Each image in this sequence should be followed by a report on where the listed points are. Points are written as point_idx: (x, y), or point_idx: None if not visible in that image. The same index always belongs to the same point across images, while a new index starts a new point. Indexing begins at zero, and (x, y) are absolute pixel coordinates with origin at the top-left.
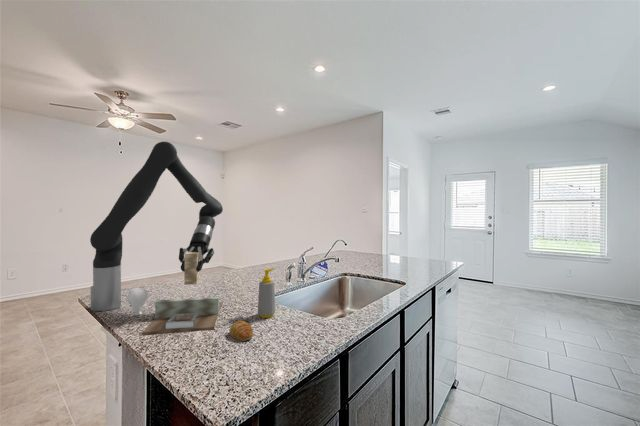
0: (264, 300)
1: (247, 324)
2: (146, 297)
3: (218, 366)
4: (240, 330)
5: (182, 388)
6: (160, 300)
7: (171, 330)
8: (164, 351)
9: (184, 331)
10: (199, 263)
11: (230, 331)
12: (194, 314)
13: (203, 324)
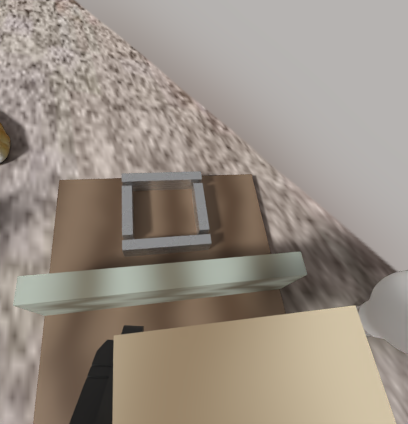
0: None
1: None
2: (375, 311)
3: (42, 46)
4: None
5: (94, 17)
6: (291, 270)
7: None
8: (160, 105)
9: None
10: (107, 386)
11: (5, 136)
12: (132, 233)
13: (95, 201)
